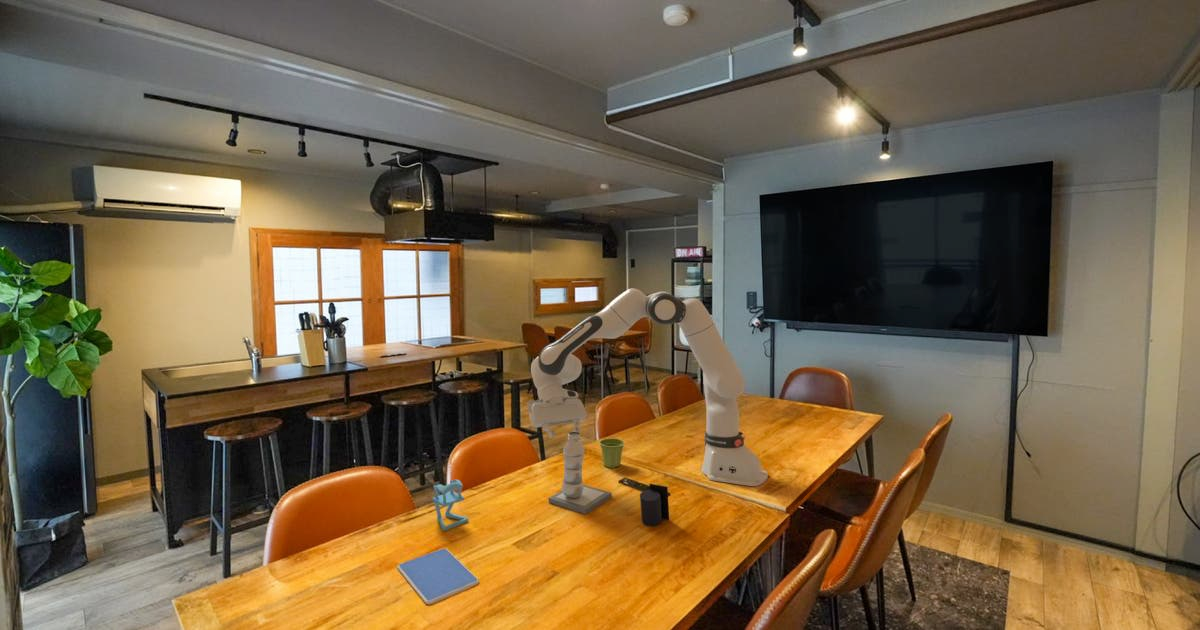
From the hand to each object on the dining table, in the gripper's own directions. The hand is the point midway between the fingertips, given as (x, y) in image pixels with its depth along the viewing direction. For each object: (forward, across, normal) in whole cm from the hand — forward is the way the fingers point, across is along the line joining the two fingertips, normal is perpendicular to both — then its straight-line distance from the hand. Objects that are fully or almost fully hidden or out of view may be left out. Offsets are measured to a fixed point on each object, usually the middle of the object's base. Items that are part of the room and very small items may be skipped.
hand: (565, 434), depth 170 cm
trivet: (+21, -1, +2) cm, 21 cm away
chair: (+16, -39, +11) cm, 44 cm away
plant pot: (+8, +24, +15) cm, 29 cm away
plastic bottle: (+20, -4, +2) cm, 20 cm away
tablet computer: (+34, -50, -6) cm, 60 cm away
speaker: (+37, +8, -16) cm, 41 cm away
